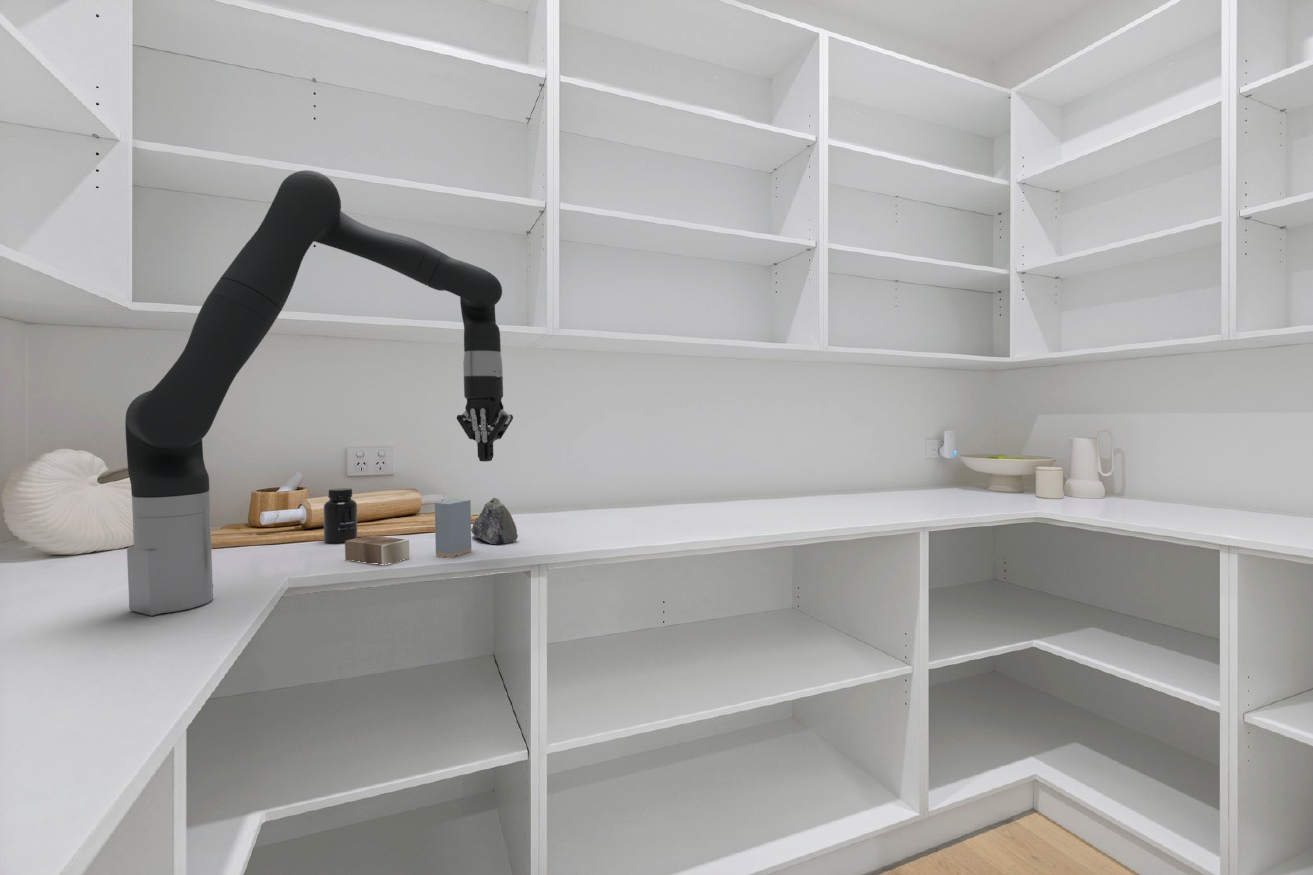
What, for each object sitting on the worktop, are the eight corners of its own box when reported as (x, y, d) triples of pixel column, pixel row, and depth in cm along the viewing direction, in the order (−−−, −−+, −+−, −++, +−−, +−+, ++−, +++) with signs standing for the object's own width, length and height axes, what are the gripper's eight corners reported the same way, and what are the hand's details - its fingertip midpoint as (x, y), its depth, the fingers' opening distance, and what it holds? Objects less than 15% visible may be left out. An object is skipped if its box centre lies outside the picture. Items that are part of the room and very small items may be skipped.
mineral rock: (472, 535, 143) (472, 493, 143) (518, 533, 146) (517, 492, 145) (467, 547, 131) (466, 501, 130) (517, 544, 133) (517, 500, 133)
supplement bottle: (347, 544, 134) (346, 491, 133) (317, 544, 134) (316, 491, 133) (363, 537, 141) (362, 487, 140) (334, 537, 141) (333, 487, 140)
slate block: (450, 558, 121) (449, 504, 120) (435, 556, 122) (434, 502, 122) (471, 551, 126) (470, 500, 126) (456, 549, 128) (455, 499, 127)
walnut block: (384, 545, 114) (344, 540, 119) (384, 566, 115) (345, 560, 119) (409, 539, 120) (370, 535, 124) (409, 559, 120) (370, 554, 125)
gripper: (444, 375, 118) (447, 462, 119) (497, 373, 113) (500, 463, 114) (470, 376, 125) (473, 458, 126) (521, 374, 120) (524, 460, 121)
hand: (485, 461), depth 120 cm, fingers closed
